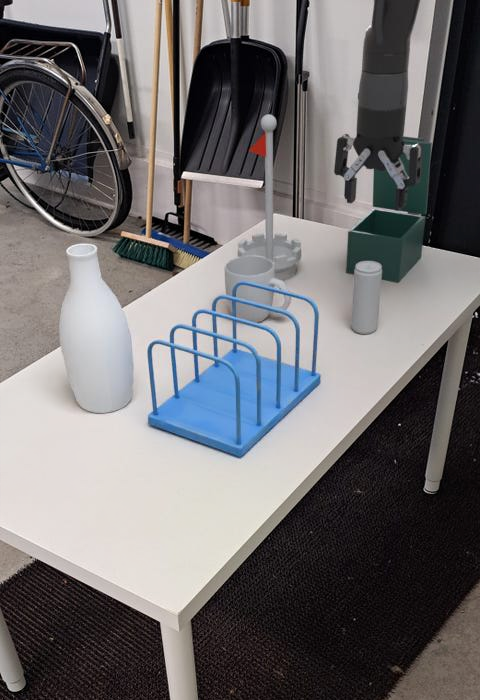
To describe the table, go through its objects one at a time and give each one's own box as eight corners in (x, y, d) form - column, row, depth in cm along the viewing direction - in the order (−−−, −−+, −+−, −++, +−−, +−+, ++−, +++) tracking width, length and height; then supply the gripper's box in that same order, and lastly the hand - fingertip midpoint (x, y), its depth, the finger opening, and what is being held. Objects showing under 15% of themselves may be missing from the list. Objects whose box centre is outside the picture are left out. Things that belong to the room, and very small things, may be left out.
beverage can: (377, 323, 158) (382, 260, 150) (377, 335, 154) (382, 272, 146) (350, 322, 158) (354, 260, 150) (350, 335, 155) (354, 271, 147)
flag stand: (269, 252, 183) (268, 100, 164) (314, 269, 176) (318, 113, 156) (225, 271, 177) (218, 115, 157) (269, 290, 169) (268, 129, 150)
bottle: (111, 425, 135) (87, 271, 118) (56, 406, 139) (26, 256, 123) (152, 392, 142) (135, 242, 125) (99, 375, 146) (76, 229, 130)
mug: (218, 321, 160) (216, 270, 153) (239, 302, 166) (238, 252, 159) (280, 334, 155) (280, 282, 149) (299, 314, 161) (300, 263, 155)
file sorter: (240, 459, 127) (237, 368, 117) (147, 426, 134) (136, 338, 124) (321, 382, 142) (324, 296, 132) (233, 357, 150) (230, 273, 140)
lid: (430, 144, 162) (439, 133, 165) (374, 137, 167) (384, 126, 170) (425, 215, 173) (433, 203, 176) (372, 206, 177) (381, 195, 180)
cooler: (398, 282, 170) (402, 240, 165) (345, 272, 174) (348, 230, 169) (421, 257, 179) (425, 216, 173) (370, 248, 183) (373, 208, 178)
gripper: (434, 99, 133) (422, 204, 143) (349, 90, 138) (344, 192, 149) (417, 112, 128) (406, 220, 138) (330, 102, 133) (326, 206, 144)
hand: (374, 205), depth 144 cm, fingers open, 8 cm apart
